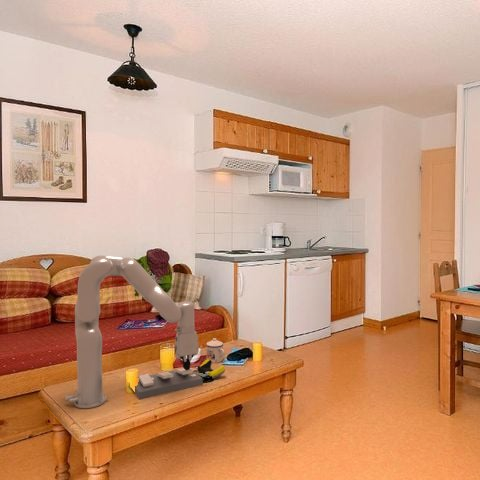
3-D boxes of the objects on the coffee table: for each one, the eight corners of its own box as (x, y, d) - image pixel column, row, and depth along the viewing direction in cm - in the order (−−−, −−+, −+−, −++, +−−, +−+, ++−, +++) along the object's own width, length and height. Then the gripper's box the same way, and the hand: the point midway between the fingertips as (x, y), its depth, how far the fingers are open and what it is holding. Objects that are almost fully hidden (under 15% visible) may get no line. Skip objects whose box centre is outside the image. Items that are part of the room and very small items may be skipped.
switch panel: (139, 399, 169) (139, 390, 168) (128, 385, 182) (128, 377, 182) (202, 384, 183) (202, 376, 183) (188, 373, 197) (188, 365, 197)
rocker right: (183, 374, 182) (182, 371, 182) (175, 371, 190) (174, 368, 190) (192, 372, 184) (191, 369, 184) (183, 369, 192) (183, 366, 192)
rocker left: (143, 386, 173) (143, 384, 172) (136, 375, 181) (136, 372, 181) (153, 384, 175) (153, 381, 175) (146, 373, 183) (146, 370, 183)
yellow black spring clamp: (209, 368, 204) (192, 373, 198) (209, 357, 204) (192, 362, 198) (227, 377, 192) (209, 382, 186) (227, 366, 192) (209, 371, 186)
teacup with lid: (202, 360, 216) (202, 338, 215) (215, 356, 223) (215, 335, 222) (217, 365, 208) (217, 343, 207) (230, 361, 214) (230, 339, 214)
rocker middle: (163, 378, 177) (163, 375, 177) (156, 375, 186) (156, 372, 186) (173, 376, 179) (173, 373, 179) (165, 373, 188) (165, 370, 188)
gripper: (173, 333, 176) (174, 375, 177) (204, 328, 183) (205, 368, 184) (167, 329, 182) (168, 369, 183) (197, 325, 190) (198, 363, 191)
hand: (186, 369), depth 184 cm, fingers closed
